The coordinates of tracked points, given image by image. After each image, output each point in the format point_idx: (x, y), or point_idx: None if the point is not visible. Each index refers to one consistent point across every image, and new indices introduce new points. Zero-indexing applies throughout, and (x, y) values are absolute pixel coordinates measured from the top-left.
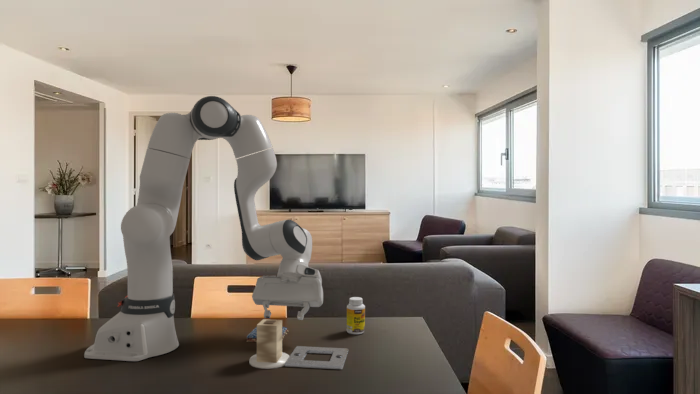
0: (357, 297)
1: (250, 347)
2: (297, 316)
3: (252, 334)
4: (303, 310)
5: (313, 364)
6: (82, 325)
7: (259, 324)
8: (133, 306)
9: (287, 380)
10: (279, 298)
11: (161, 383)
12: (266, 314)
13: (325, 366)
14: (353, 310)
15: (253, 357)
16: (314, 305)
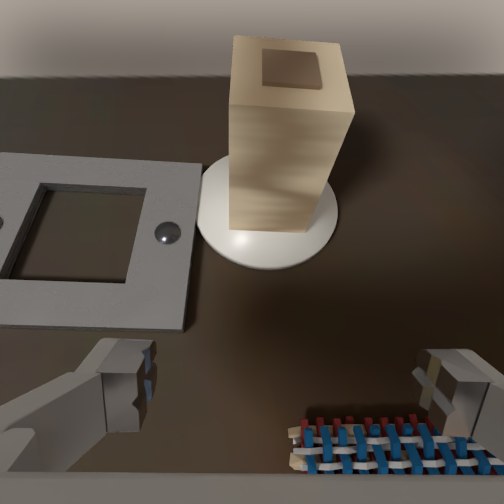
0: None
1: (403, 332)
2: (150, 341)
3: (486, 464)
4: (65, 375)
5: (102, 158)
6: None
7: (330, 49)
8: None
9: (179, 104)
10: (480, 484)
11: (460, 89)
12: (448, 350)
13: (62, 158)
14: None
15: (326, 204)
16: None
